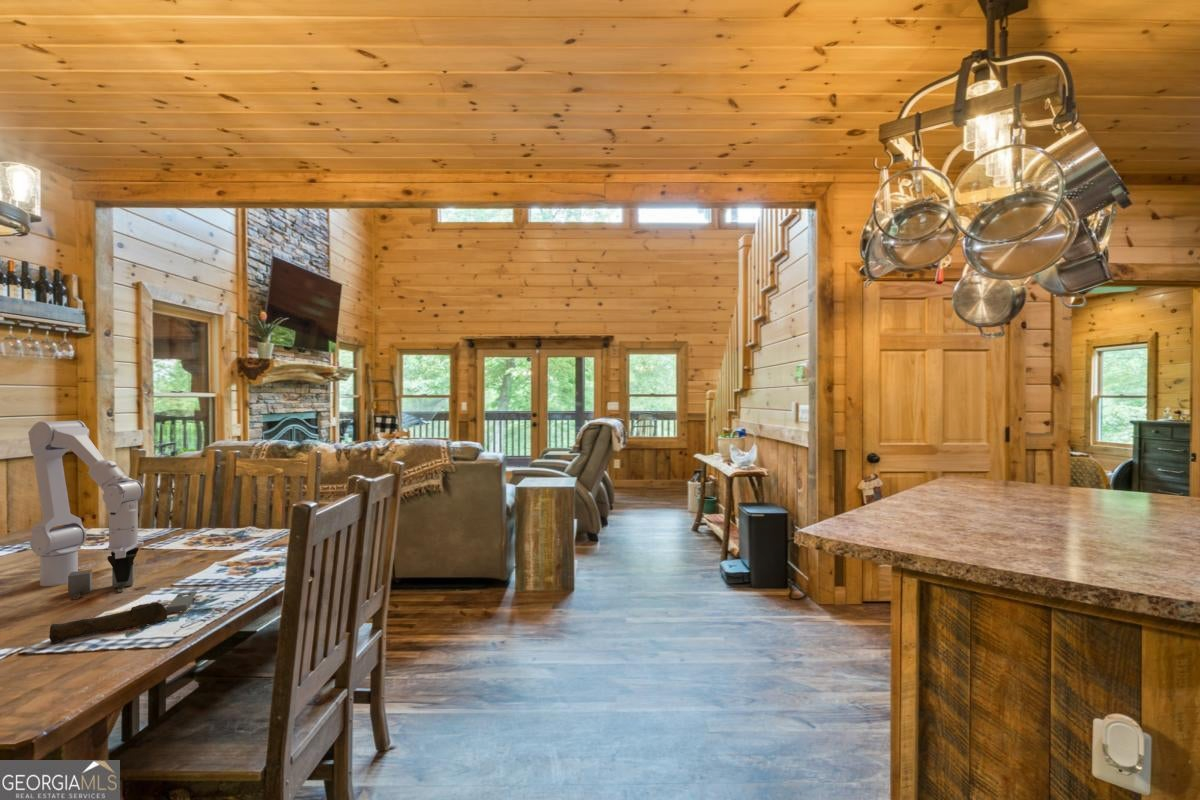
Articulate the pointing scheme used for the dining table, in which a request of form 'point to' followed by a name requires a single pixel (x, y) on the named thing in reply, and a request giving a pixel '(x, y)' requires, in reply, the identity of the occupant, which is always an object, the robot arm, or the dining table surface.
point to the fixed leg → (79, 583)
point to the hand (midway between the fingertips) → (123, 579)
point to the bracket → (181, 602)
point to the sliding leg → (123, 584)
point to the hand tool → (109, 622)
